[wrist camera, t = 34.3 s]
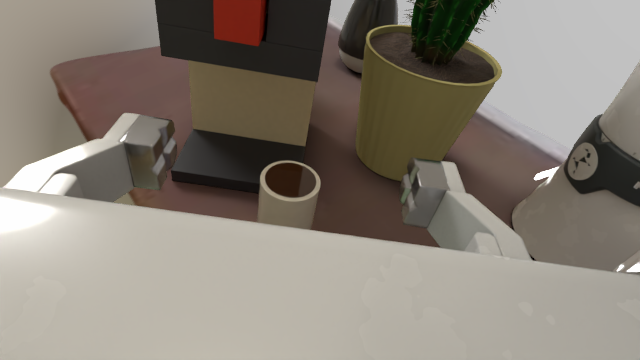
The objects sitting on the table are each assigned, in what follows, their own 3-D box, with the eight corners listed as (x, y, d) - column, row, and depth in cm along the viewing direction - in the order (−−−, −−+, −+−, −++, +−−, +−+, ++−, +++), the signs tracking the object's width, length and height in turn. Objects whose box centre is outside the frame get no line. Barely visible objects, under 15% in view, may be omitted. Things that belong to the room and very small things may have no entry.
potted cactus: (472, 189, 50) (631, -89, 30) (362, 197, 45) (465, -123, 26) (420, 122, 61) (512, -115, 41) (327, 123, 56) (381, -143, 37)
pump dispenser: (390, 63, 76) (415, -21, 66) (384, 86, 68) (410, -6, 58) (341, 50, 77) (358, -34, 67) (328, 71, 69) (345, -22, 59)
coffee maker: (209, 106, 55) (202, -110, 38) (308, 122, 56) (341, -82, 39) (171, 180, 43) (136, -89, 26) (297, 199, 43) (339, -50, 27)
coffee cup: (309, 227, 41) (322, 164, 35) (305, 267, 37) (319, 204, 31) (259, 220, 40) (265, 155, 35) (250, 260, 36) (255, 195, 31)
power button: (223, 24, 33) (223, -21, 31) (265, 31, 34) (268, -13, 31) (213, 38, 31) (212, -9, 29) (258, 46, 31) (261, 0, 29)
